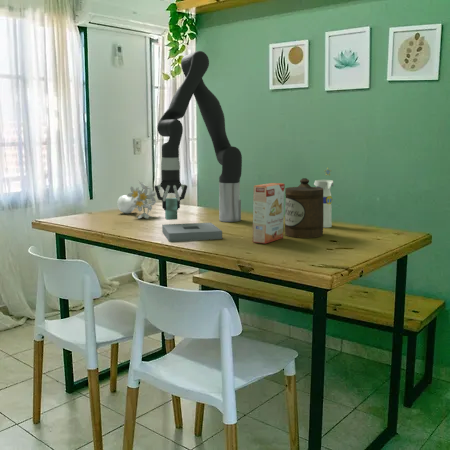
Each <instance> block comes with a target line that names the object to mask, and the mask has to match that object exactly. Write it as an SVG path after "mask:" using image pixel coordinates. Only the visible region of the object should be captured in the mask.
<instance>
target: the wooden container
mask: <svg viewBox="0 0 450 450" xmlns="http://www.w3.org/2000/svg"><path fill="white" fill-rule="evenodd" d="M309 182H310V180H309V179H308V178H307V177H305V178H304V177H302V178H301V179H300V181H299V183H300V184H299V185H298V186H290V187H286V188H284V196H285V200H284V235H285V236H287V237H292V238H301V239H311V238H312V239H313V238H319V237H323V235H324V228H323V188H320V187H316V186H311V185H310V184H309Z"/></svg>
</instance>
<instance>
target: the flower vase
mask: <svg viewBox="0 0 450 450" xmlns="http://www.w3.org/2000/svg"><path fill="white" fill-rule="evenodd" d="M138 183H139V184H140V187H141V190H140V187H139V186H137V187H136V188H134V186H130V192H129V193H128V194H122V195H120V196H119V198H118V199H117V203H116V204H117V208H118V210H119V211H120V212H121V213H123V214H131V213H132V212H133V211H134V210H135V209H136V208H137V211H139V212H141V211H142V210H143V213H141V214H139V215H138V216H137V219H142V218H144V219H149V218H153V216H152V215H149V212H151V211H152V209H153V206H154V205H155V204H156V203H157V202H156V199H155V196H156V195H157V194H156V191H154V190H153V189H154V187H153V186H152V187H151V186H147V185H146V184H145V183H144V182H142V181H139V180H138ZM149 190H150V192H149ZM148 192H149V194H148ZM148 200H150V201H151V202H150V203H148ZM145 209H147V213H146V211H145Z"/></svg>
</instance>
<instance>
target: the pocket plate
mask: <svg viewBox="0 0 450 450" xmlns="http://www.w3.org/2000/svg"><path fill="white" fill-rule="evenodd" d="M161 229H162V230H161V231H162V233H163V235H164V236H165V238H166V239H167V240H168V242H184V241H185V242H186V241H187V242H189V241H205V240H206V241H207V240H209V239H210V240H222V239H223V231H222V229H221V228H219V227H218V226H216V225H215V224H213V223H212V222H198V223H197V222H196V223H194V222H193V223H192V222H191V223H173V224H172V223H169V224H168V223H167V224H166V223H165V224H162V226H161Z"/></svg>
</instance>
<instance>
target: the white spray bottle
mask: <svg viewBox="0 0 450 450" xmlns="http://www.w3.org/2000/svg"><path fill="white" fill-rule="evenodd" d="M324 172H325V176H331V172H332V170H331V169H329V167H327V168H326V170H325V169H324ZM313 185H314V187H320V188H323V229H324V228H325V229H326V228H332V211H333V210H332V208H333V207H332V203H333V197H332V192H331V187H334V180H331V179H317V180H316V179H315V180H314V183H313Z"/></svg>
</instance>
